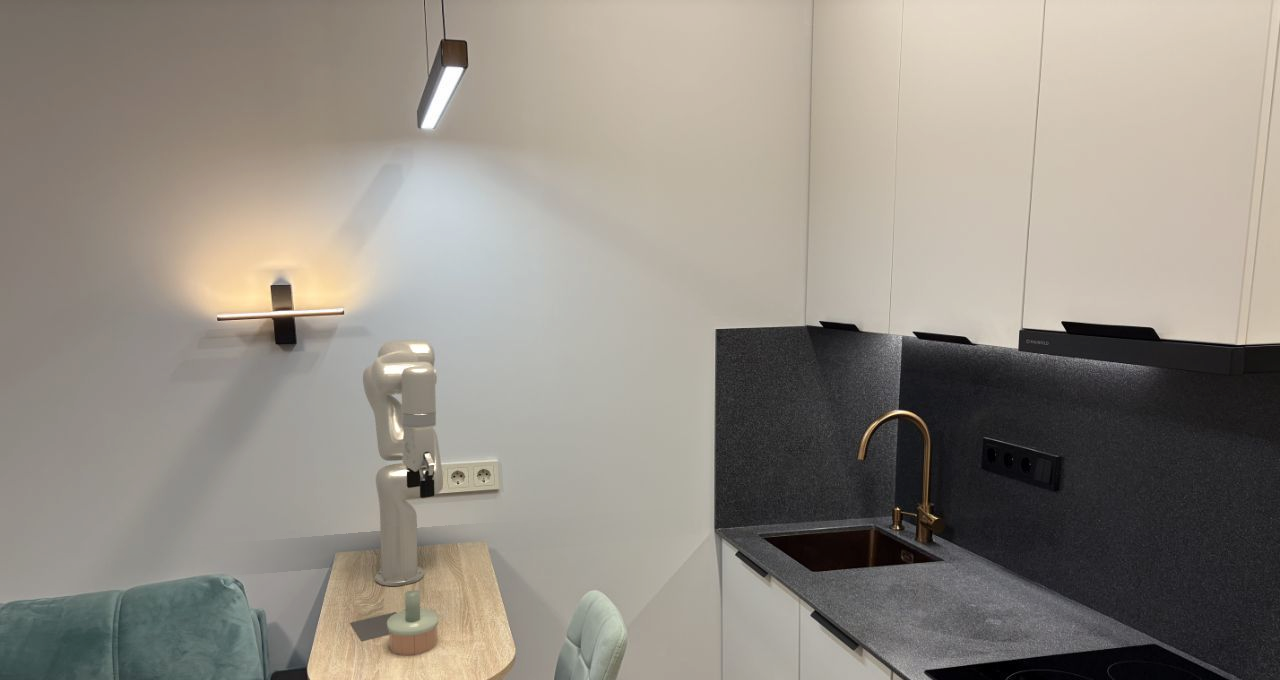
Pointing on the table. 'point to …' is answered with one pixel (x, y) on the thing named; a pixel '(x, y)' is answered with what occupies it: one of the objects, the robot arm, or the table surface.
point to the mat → (372, 627)
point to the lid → (412, 617)
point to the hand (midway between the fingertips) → (420, 491)
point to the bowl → (413, 643)
